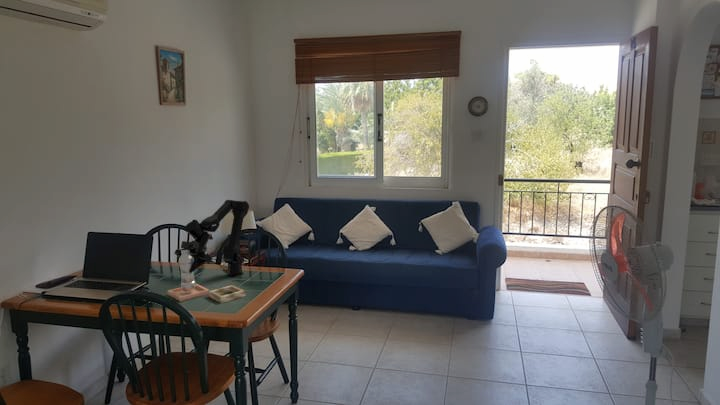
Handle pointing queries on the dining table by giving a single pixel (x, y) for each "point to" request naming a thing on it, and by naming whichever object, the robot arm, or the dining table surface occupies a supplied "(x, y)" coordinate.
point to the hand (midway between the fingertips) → (184, 271)
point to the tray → (188, 293)
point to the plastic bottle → (186, 271)
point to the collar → (218, 297)
